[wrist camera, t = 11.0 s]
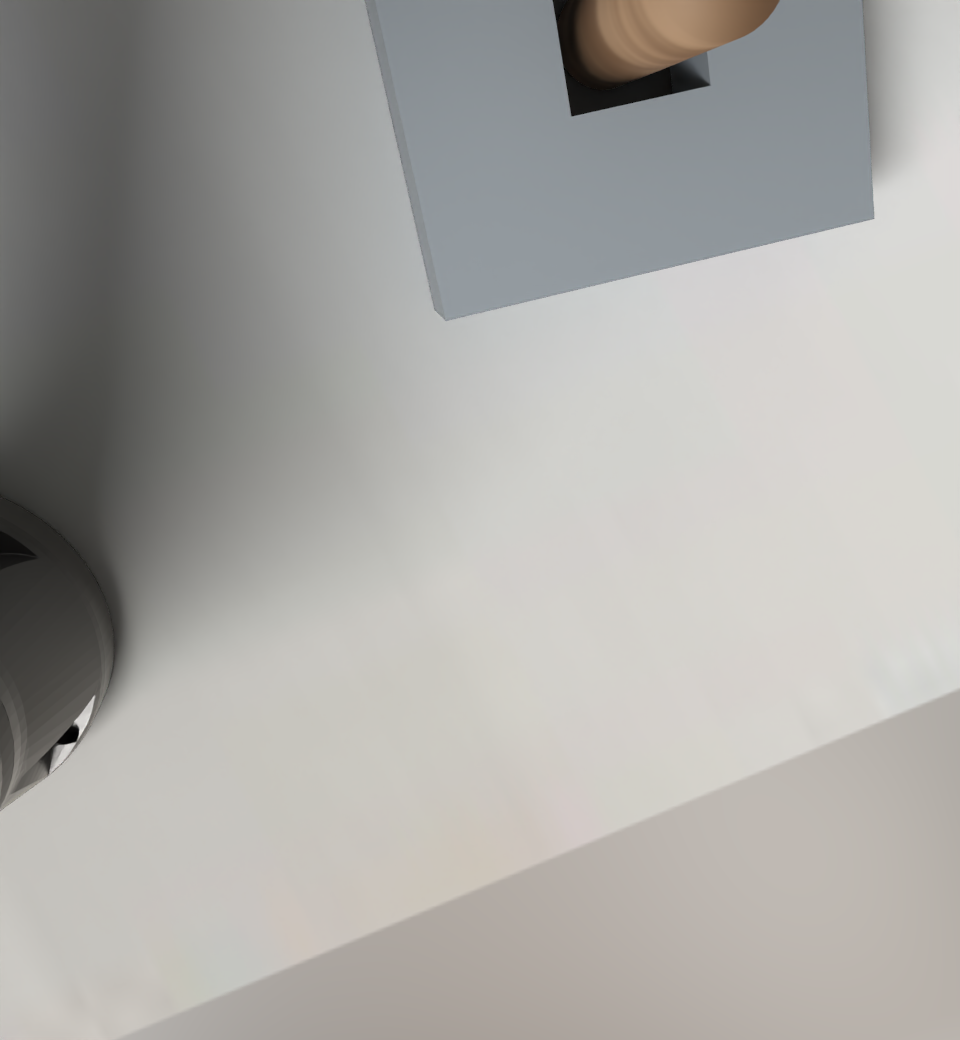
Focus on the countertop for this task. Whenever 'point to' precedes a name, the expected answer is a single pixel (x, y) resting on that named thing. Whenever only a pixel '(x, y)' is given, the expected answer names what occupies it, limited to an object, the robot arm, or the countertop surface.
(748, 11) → the peg
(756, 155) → the socket board
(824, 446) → the countertop surface
